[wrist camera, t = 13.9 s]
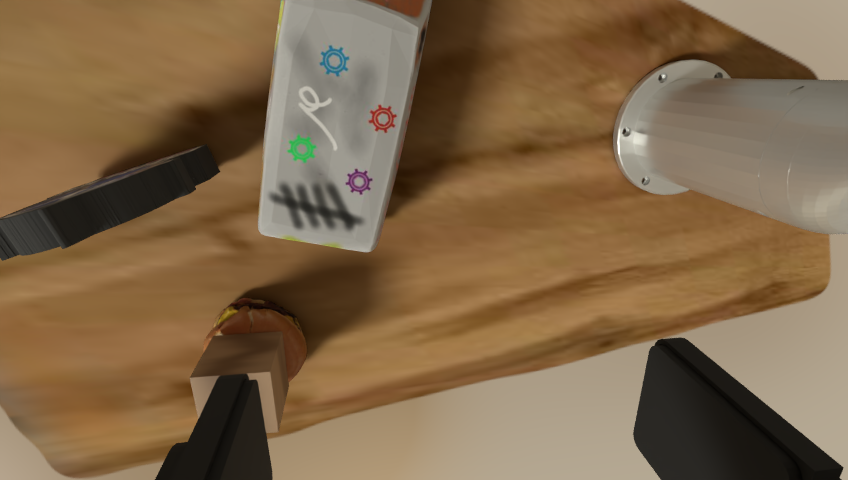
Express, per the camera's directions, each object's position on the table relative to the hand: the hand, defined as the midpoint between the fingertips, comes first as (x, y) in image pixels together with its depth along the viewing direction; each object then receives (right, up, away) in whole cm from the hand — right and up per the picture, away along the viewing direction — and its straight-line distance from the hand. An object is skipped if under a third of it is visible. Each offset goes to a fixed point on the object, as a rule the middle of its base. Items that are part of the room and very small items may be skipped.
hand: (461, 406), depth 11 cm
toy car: (-8, +17, +29) cm, 34 cm away
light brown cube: (-17, -7, +31) cm, 36 cm away
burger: (-18, -6, +36) cm, 40 cm away
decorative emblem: (-24, +10, +29) cm, 39 cm away
